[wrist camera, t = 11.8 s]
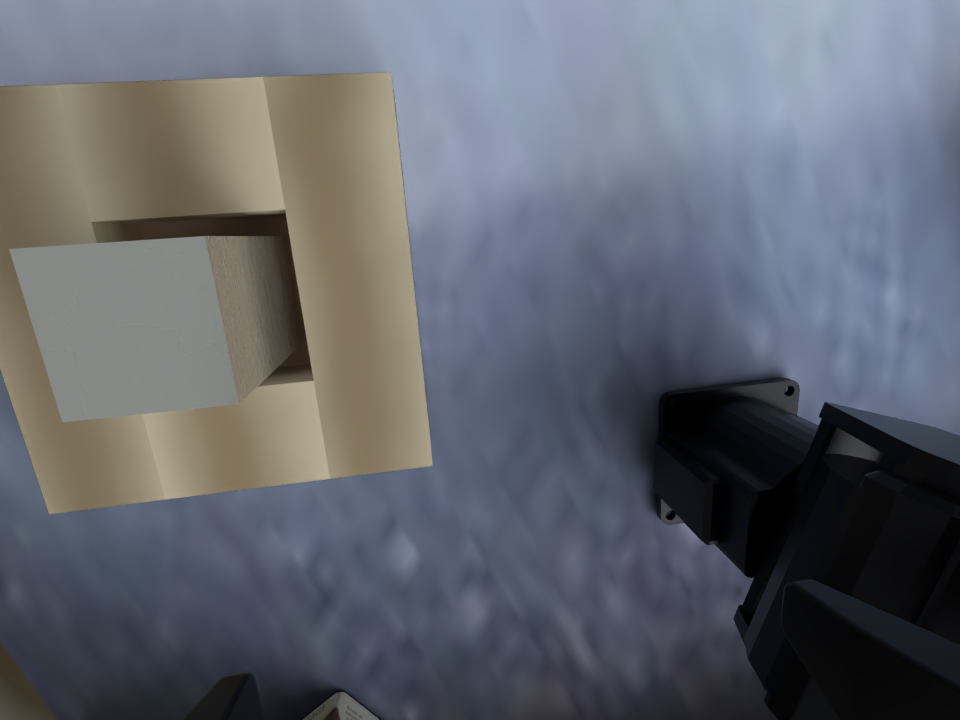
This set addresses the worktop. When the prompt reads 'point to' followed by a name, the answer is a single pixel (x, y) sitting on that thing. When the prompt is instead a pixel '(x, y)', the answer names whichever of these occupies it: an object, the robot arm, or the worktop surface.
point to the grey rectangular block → (159, 321)
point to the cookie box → (340, 709)
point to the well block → (224, 212)
